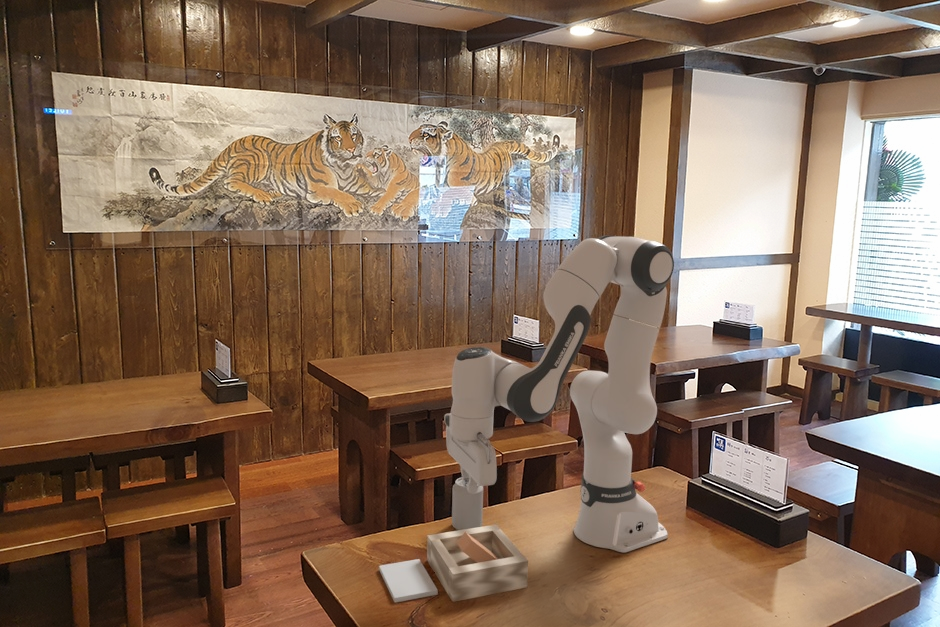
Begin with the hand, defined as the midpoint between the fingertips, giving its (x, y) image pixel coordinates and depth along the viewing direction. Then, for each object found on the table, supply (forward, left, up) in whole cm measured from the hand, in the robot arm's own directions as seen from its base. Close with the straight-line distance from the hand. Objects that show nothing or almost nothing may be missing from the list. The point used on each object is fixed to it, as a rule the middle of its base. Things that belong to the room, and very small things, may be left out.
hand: (469, 489), depth 149 cm
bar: (-2, 0, -16) cm, 16 cm away
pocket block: (-2, 0, -20) cm, 20 cm away
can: (-8, -21, -20) cm, 30 cm away
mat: (+13, -2, -20) cm, 23 cm away
